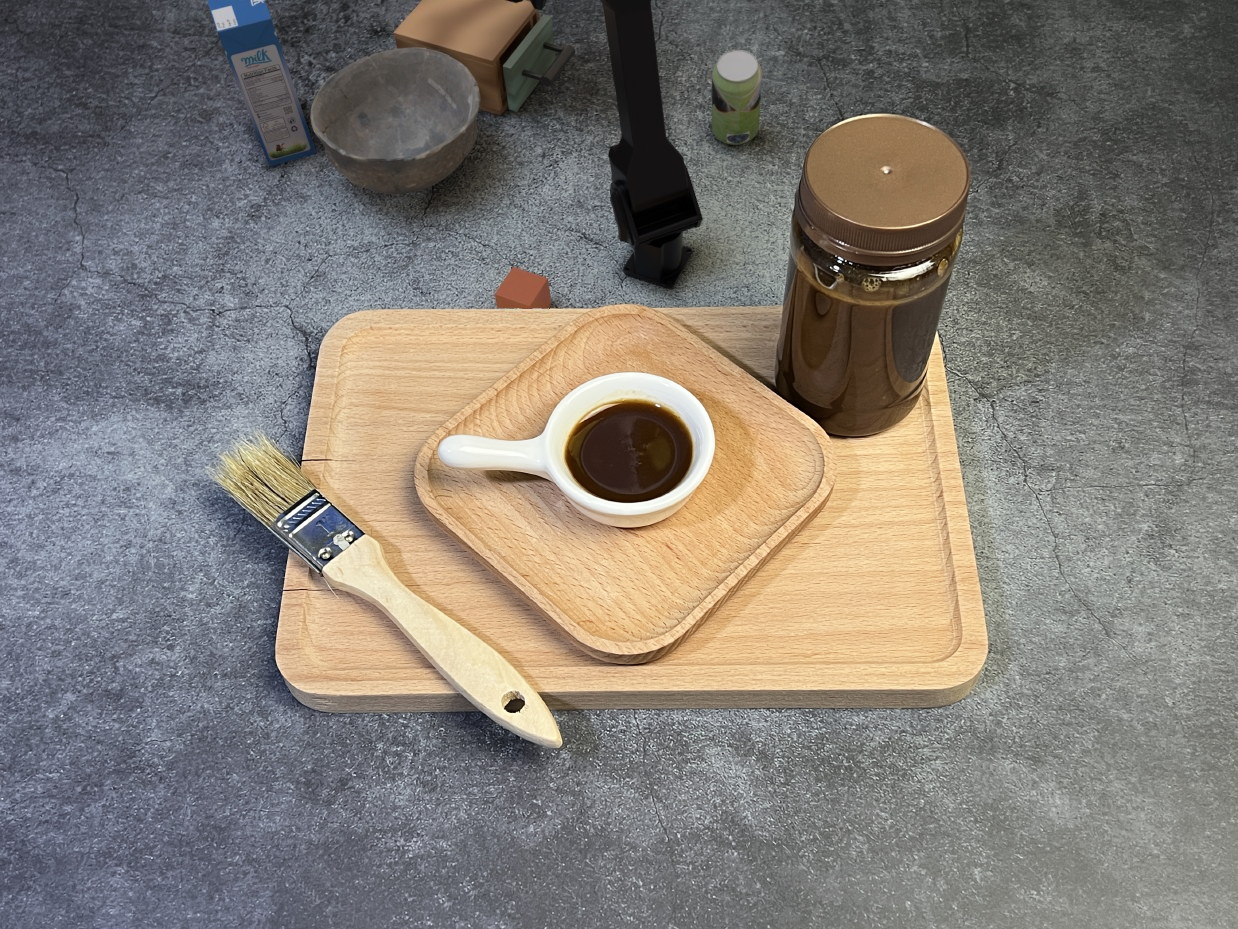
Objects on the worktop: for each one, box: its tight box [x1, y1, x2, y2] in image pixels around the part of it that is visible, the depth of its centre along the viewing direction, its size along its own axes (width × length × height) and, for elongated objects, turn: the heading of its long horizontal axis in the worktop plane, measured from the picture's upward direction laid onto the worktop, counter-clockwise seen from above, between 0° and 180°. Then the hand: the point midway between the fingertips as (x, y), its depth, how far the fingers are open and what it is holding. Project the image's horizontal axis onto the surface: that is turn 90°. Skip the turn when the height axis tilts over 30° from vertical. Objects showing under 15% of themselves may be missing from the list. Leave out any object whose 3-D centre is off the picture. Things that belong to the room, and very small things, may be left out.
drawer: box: [496, 13, 576, 112], centre depth 145 cm, size 18×11×7 cm, turn 65°
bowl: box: [310, 47, 481, 196], centre depth 137 cm, size 21×21×10 cm
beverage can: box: [711, 49, 763, 146], centre depth 137 cm, size 6×7×12 cm
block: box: [494, 266, 552, 309], centre depth 125 cm, size 4×4×4 cm
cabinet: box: [393, 0, 541, 116], centre depth 147 cm, size 15×13×9 cm
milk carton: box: [206, 0, 317, 168], centre depth 136 cm, size 10×6×20 cm, turn 22°
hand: (539, 7), depth 137 cm, fingers closed
